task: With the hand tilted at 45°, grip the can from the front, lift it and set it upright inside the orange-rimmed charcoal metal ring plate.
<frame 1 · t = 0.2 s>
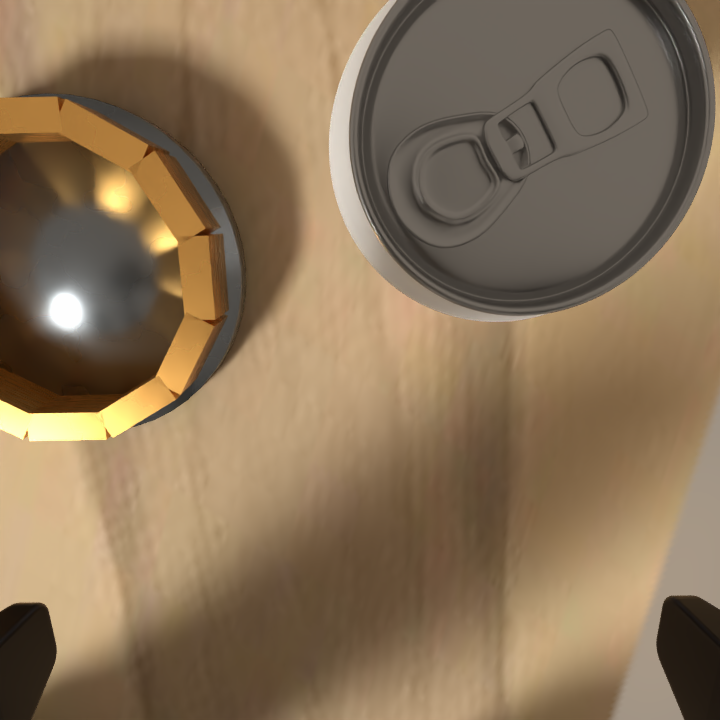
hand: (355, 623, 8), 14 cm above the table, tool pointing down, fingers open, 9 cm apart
ring plate: (86, 272, 21), on the table
can: (432, 181, 20), on the table
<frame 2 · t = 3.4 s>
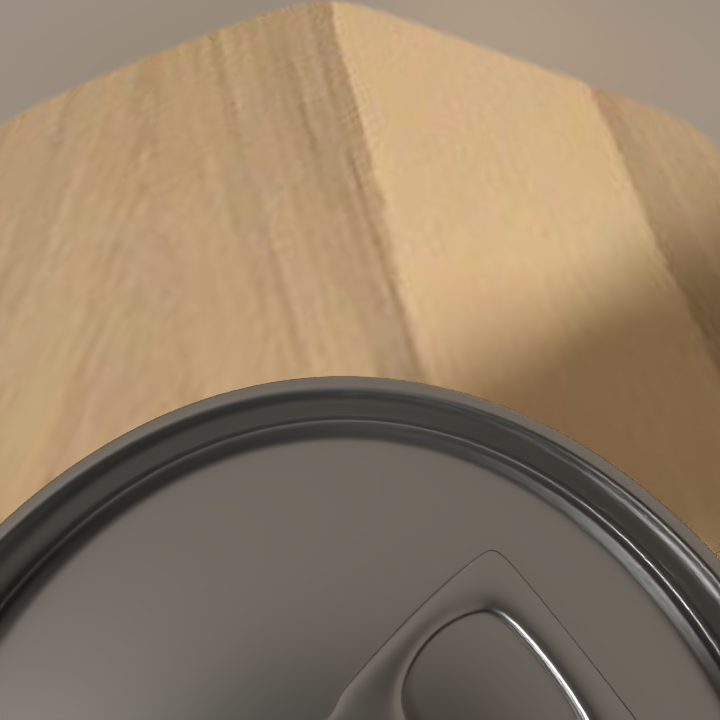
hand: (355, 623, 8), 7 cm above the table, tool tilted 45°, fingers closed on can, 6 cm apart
can: (360, 699, 14), on the table, touching gripper
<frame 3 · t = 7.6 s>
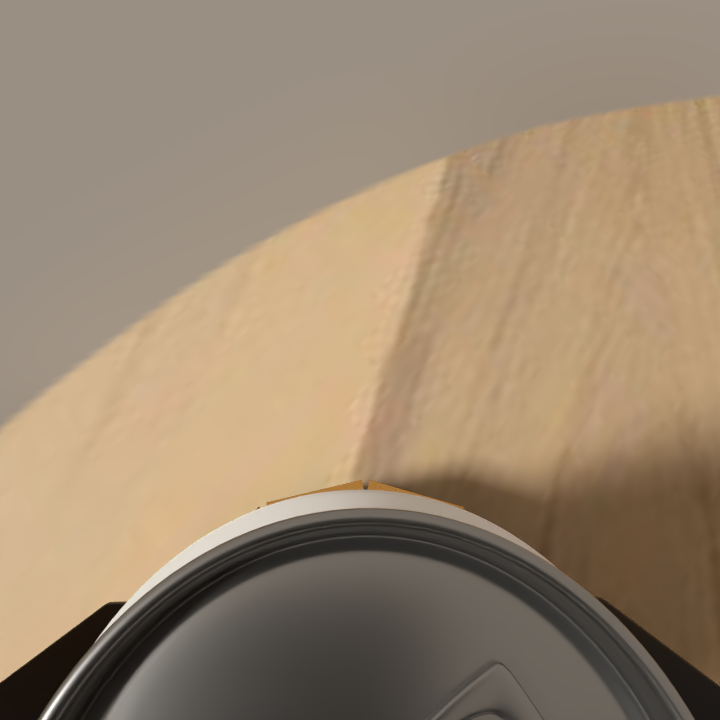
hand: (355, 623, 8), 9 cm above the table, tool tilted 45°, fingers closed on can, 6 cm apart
ring plate: (361, 708, 16), on the table
can: (342, 667, 15), point 1 cm above the table, touching gripper, ring plate
when the fingers open (9 cm above the table, at t = 7.6 s): can stays where it is, resting on ring plate.
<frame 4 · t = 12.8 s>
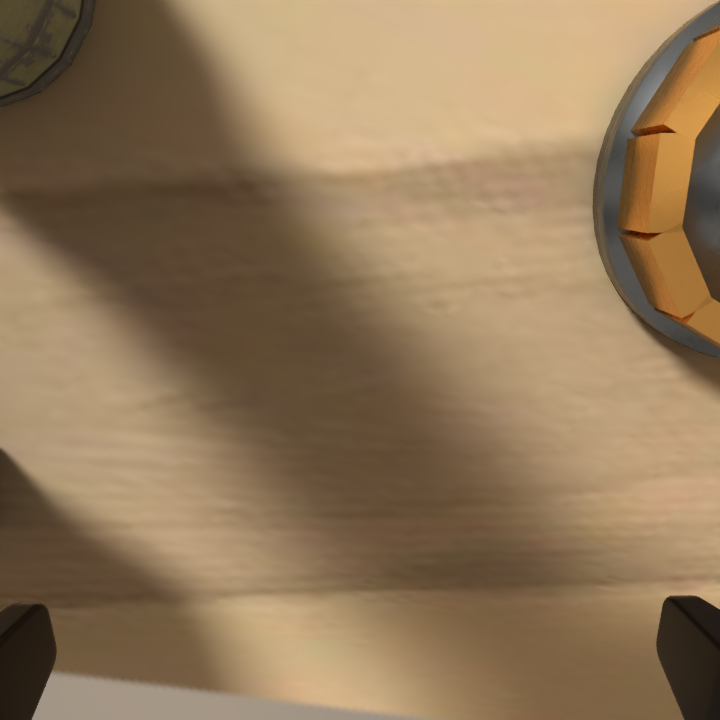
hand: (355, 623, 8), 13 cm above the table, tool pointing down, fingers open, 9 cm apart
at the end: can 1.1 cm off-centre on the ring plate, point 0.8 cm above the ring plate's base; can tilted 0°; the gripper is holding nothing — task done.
